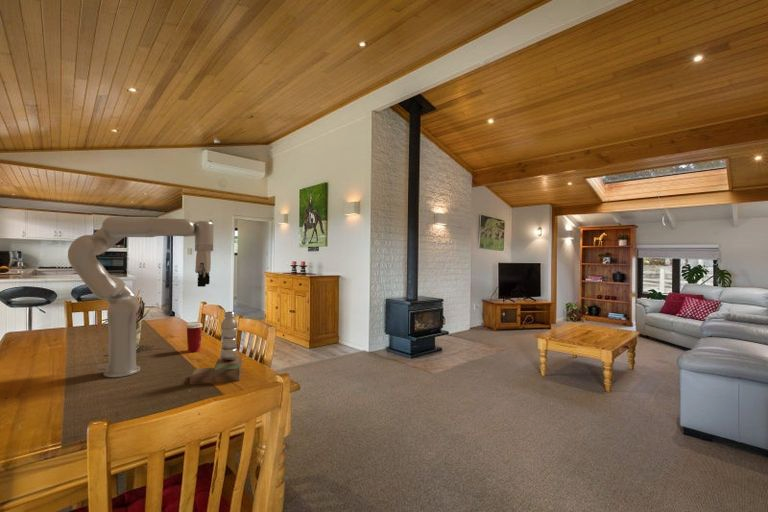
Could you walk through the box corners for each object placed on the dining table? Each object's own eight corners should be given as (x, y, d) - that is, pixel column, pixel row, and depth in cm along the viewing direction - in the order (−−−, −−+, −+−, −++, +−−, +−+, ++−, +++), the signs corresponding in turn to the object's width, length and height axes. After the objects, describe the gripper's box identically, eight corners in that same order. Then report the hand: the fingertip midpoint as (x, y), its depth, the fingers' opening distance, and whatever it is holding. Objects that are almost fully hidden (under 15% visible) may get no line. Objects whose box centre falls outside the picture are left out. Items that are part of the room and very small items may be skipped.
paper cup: (205, 350, 187) (205, 323, 187) (190, 354, 180) (191, 326, 180) (197, 347, 191) (197, 321, 191) (182, 351, 185) (182, 324, 184)
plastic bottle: (231, 362, 147) (231, 314, 146) (216, 361, 148) (217, 313, 148) (240, 358, 153) (241, 311, 153) (227, 356, 155) (227, 310, 154)
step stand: (189, 384, 141) (190, 367, 141) (195, 375, 151) (195, 359, 151) (239, 380, 146) (239, 363, 146) (241, 372, 156) (241, 356, 156)
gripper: (198, 247, 172) (198, 283, 172) (190, 248, 155) (190, 287, 156) (216, 248, 174) (215, 283, 175) (209, 248, 158) (209, 287, 158)
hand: (203, 285), depth 165 cm, fingers open, 9 cm apart
